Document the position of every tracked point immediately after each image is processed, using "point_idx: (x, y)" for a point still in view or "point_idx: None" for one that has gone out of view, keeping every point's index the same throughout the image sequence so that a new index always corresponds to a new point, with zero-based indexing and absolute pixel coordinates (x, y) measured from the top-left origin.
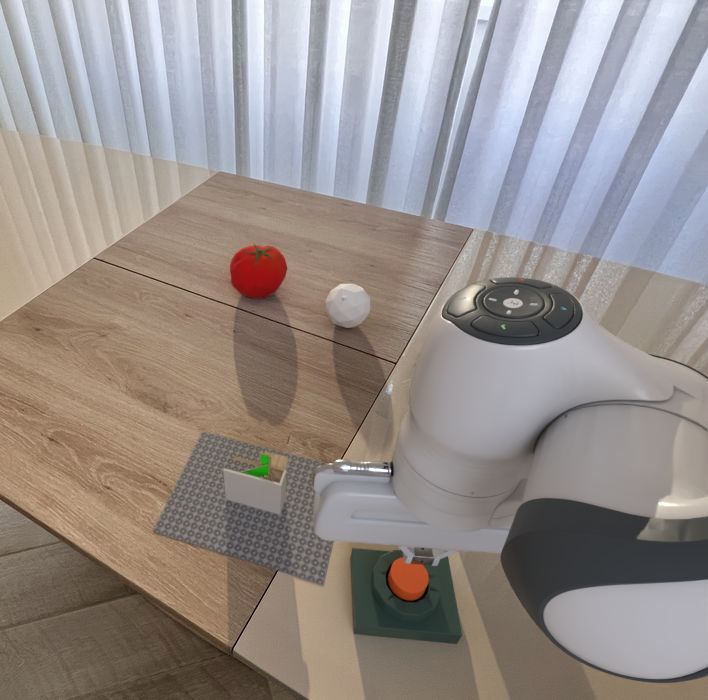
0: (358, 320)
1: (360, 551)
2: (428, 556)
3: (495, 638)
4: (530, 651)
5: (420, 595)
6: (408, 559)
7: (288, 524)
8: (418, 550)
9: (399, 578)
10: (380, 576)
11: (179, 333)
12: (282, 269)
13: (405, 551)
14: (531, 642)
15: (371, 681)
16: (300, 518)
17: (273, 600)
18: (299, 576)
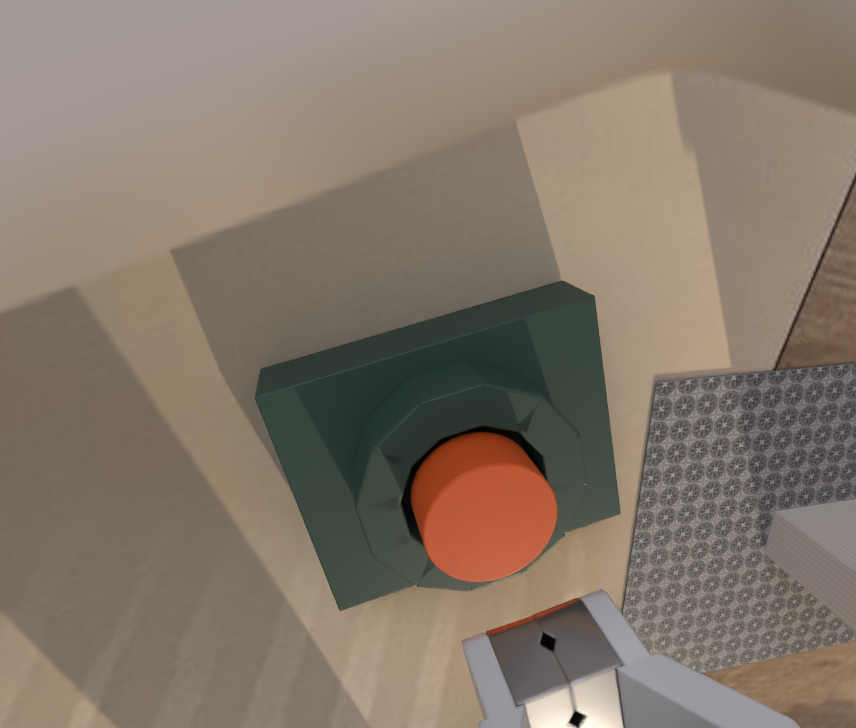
0: None
1: (596, 514)
2: (547, 697)
3: (146, 430)
4: (28, 435)
5: (431, 468)
6: (620, 627)
7: (753, 496)
8: (595, 699)
9: (526, 497)
10: (563, 473)
11: None
12: None
13: (709, 693)
14: (31, 463)
15: (496, 162)
16: (723, 523)
17: (780, 287)
18: (719, 377)
